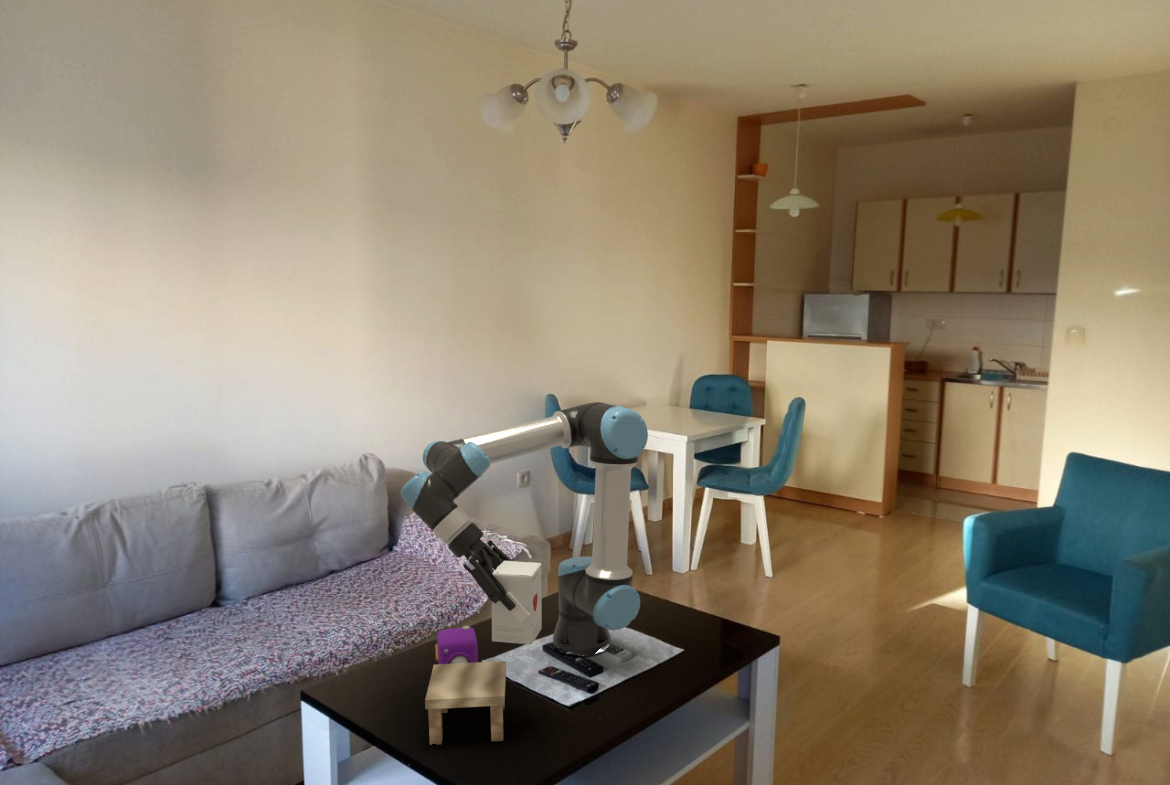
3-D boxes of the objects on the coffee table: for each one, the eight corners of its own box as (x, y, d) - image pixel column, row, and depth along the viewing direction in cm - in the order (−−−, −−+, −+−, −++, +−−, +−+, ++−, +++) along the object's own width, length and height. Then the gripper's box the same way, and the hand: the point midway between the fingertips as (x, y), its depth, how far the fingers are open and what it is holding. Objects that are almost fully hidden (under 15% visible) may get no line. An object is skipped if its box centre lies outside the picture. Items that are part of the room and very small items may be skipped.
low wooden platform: (507, 703, 182) (505, 661, 181) (505, 741, 166) (504, 695, 165) (435, 707, 181) (433, 664, 179) (427, 746, 165) (425, 700, 164)
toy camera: (444, 690, 188) (442, 649, 187) (431, 666, 201) (429, 627, 200) (488, 680, 193) (487, 641, 191) (473, 658, 205) (471, 620, 204)
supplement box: (532, 645, 167) (531, 576, 166) (491, 642, 169) (490, 573, 167) (543, 628, 176) (542, 562, 175) (503, 625, 178) (502, 559, 176)
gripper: (464, 530, 184) (532, 602, 183) (428, 560, 163) (505, 642, 162) (486, 509, 183) (555, 581, 181) (452, 536, 161) (530, 618, 160)
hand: (531, 610), depth 171 cm, fingers closed on supplement box, 9 cm apart
